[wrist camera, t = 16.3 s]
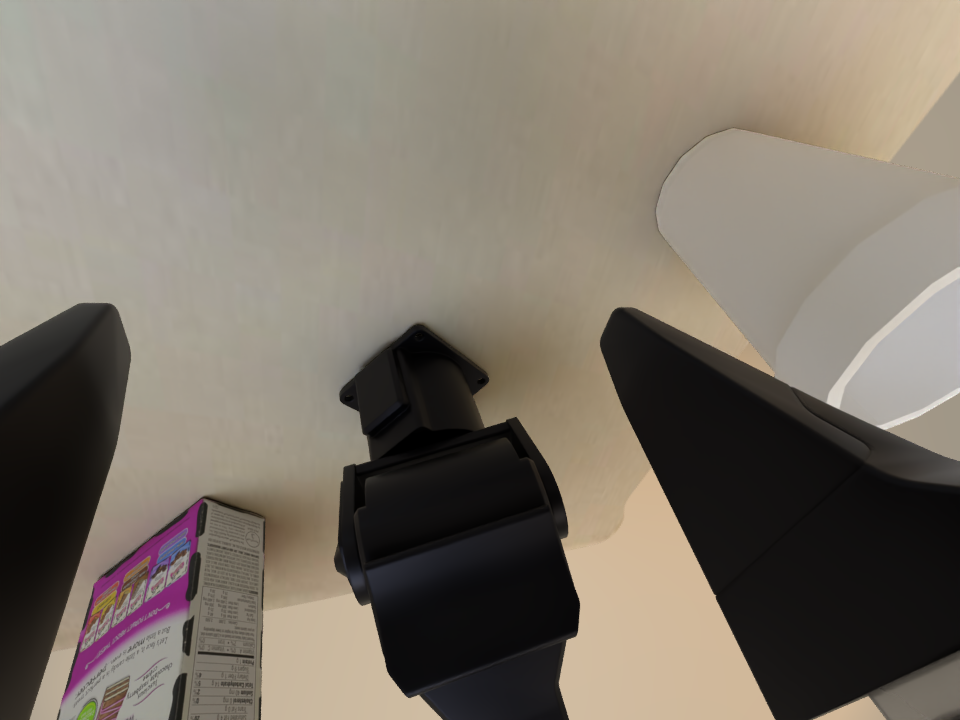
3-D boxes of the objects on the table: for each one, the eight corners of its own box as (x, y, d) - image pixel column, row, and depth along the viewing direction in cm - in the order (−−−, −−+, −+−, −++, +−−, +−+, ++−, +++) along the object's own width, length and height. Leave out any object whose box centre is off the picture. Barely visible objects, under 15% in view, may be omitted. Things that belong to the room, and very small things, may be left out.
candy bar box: (167, 593, 35) (106, 926, 23) (92, 580, 31) (-24, 963, 20) (273, 515, 32) (263, 844, 21) (204, 493, 29) (146, 870, 17)
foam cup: (817, 68, 22) (1191, 167, 13) (768, 239, 29) (995, 386, 19) (631, 128, 21) (887, 278, 12) (625, 289, 28) (790, 466, 19)
